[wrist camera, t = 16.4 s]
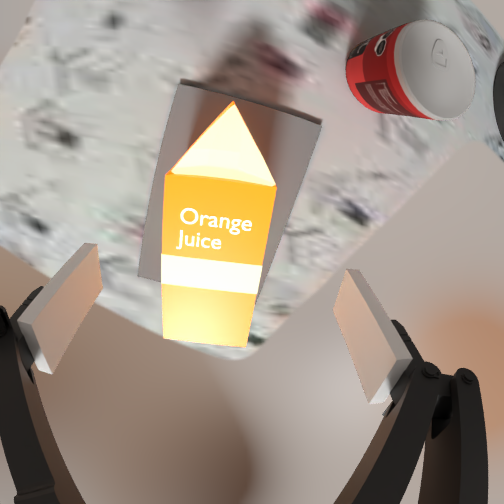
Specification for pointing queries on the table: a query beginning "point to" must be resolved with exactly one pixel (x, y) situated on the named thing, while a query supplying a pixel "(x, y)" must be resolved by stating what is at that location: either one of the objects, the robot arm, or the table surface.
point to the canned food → (413, 72)
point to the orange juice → (215, 235)
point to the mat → (268, 143)
